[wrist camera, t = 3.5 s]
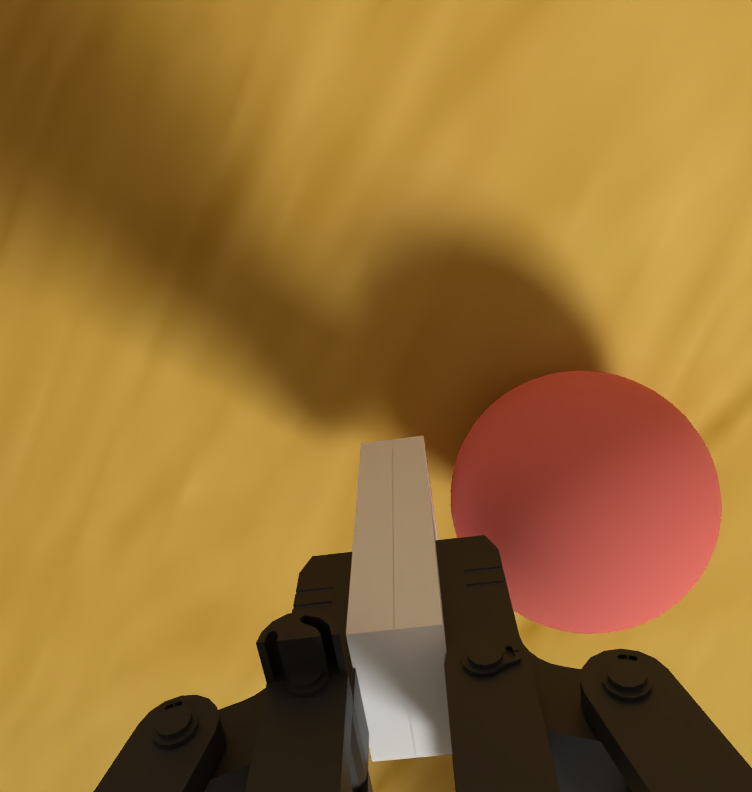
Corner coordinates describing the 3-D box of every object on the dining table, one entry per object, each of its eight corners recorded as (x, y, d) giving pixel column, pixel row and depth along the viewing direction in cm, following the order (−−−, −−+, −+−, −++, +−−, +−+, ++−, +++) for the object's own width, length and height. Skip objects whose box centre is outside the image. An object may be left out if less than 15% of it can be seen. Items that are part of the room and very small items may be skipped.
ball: (450, 546, 21) (476, 707, 15) (430, 351, 19) (453, 458, 13) (660, 524, 21) (763, 680, 15) (665, 324, 18) (789, 420, 13)
